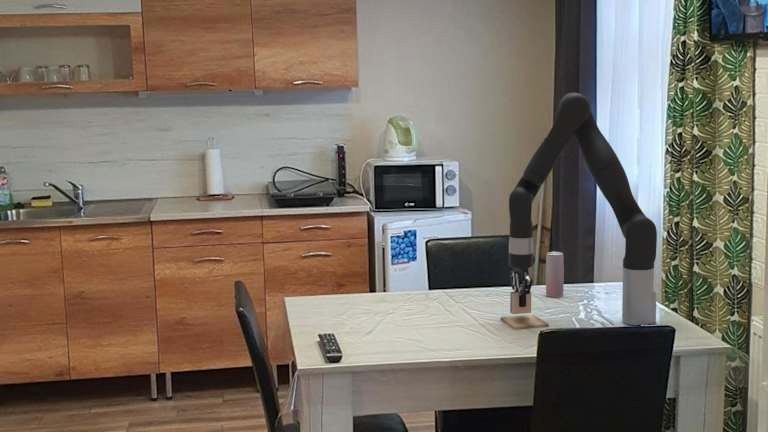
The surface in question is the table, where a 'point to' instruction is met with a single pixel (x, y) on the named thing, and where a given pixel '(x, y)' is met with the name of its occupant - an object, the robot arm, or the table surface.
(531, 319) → the tan wavy tile
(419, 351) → the table surface
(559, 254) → the beverage can
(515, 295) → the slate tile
